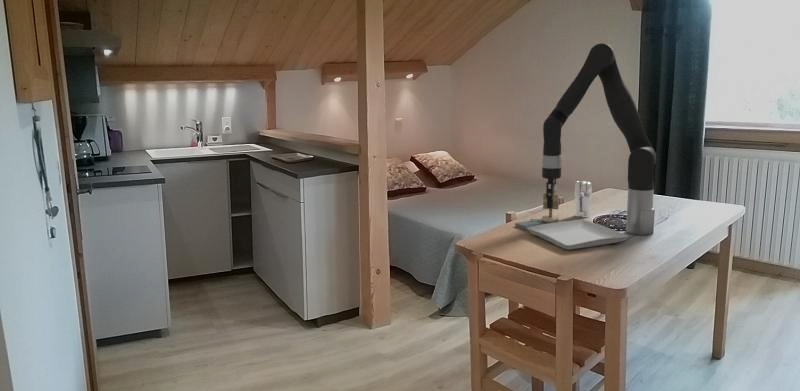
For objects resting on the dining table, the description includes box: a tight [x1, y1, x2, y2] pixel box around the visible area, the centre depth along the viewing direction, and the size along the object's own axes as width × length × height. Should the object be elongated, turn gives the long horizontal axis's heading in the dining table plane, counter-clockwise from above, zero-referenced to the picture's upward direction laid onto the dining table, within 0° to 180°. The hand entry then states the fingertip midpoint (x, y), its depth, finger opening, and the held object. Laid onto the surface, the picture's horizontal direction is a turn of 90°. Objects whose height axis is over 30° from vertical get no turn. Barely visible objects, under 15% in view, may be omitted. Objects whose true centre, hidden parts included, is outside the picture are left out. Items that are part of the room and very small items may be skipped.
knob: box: [529, 192, 560, 223], centre depth 256 cm, size 6×11×11 cm, turn 73°
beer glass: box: [574, 180, 593, 218], centre depth 270 cm, size 7×7×15 cm
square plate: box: [526, 219, 629, 250], centre depth 236 cm, size 27×27×4 cm
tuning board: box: [514, 219, 564, 232], centre depth 255 cm, size 12×18×2 cm
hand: (550, 206), depth 256 cm, fingers open, 7 cm apart
